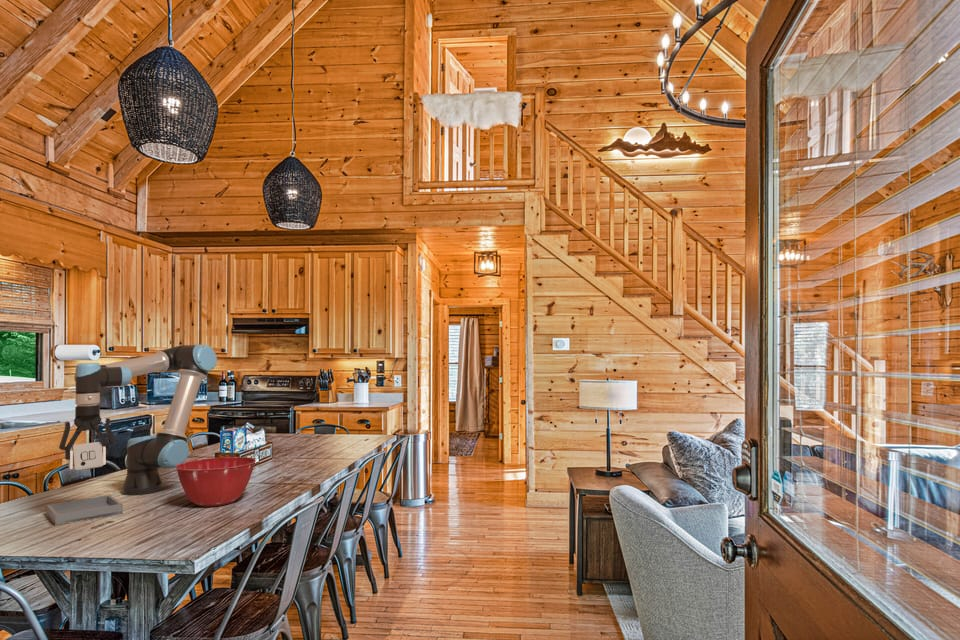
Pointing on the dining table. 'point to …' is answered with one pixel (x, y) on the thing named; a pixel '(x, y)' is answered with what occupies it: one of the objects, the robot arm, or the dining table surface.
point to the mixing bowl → (215, 479)
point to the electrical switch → (87, 456)
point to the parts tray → (84, 509)
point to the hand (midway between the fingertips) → (87, 466)
